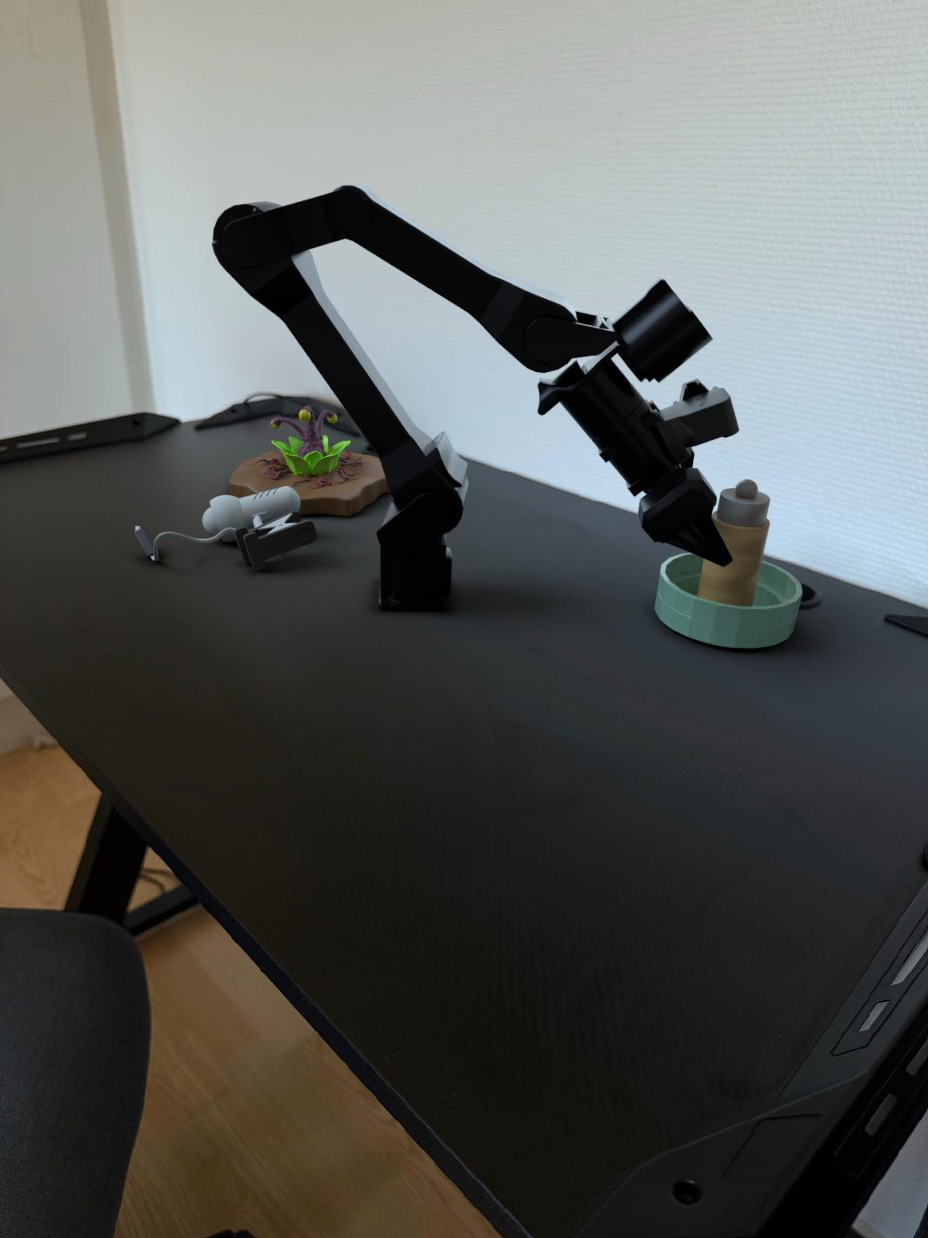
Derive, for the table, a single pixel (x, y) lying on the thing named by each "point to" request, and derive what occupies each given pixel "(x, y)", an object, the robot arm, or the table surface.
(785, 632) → the green shallow bowl
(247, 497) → the clip-on lamp
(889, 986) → the table surface
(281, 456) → the plant
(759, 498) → the pepper mill
